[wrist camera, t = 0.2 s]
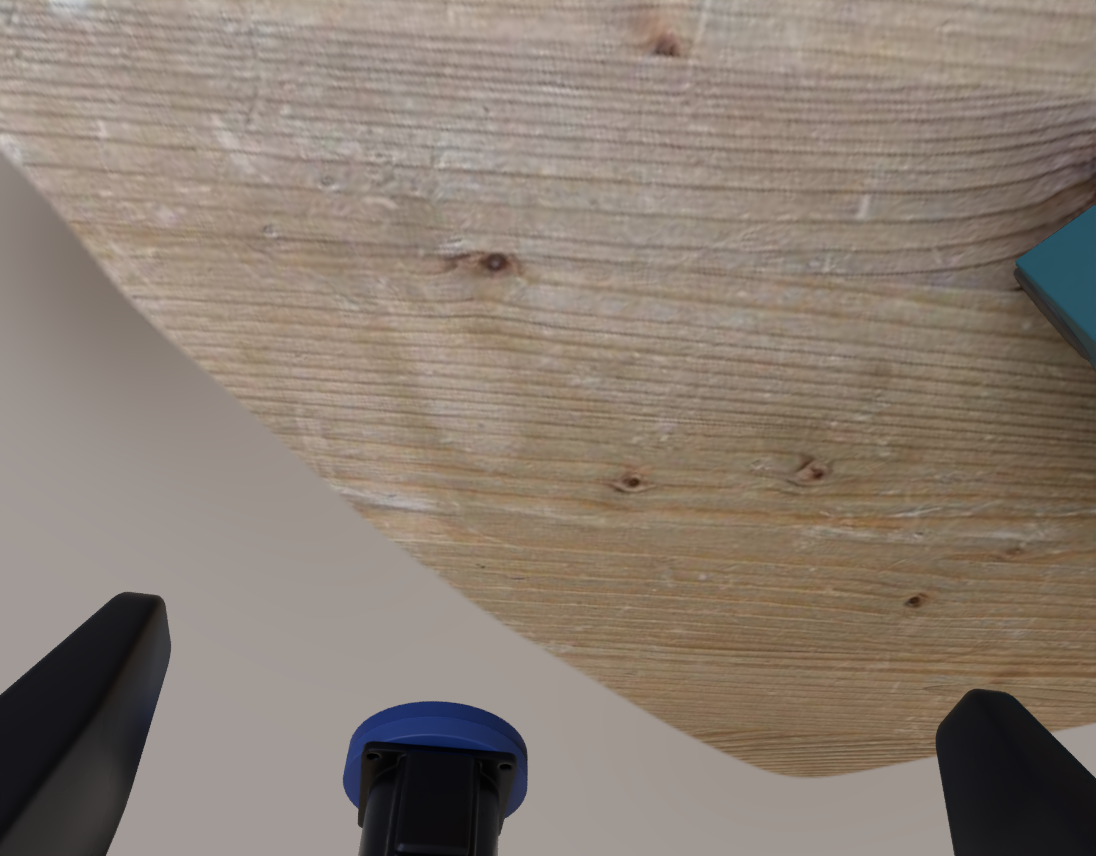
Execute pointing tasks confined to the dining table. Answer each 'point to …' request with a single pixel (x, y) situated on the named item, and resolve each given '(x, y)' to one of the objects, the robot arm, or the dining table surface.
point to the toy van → (1066, 281)
